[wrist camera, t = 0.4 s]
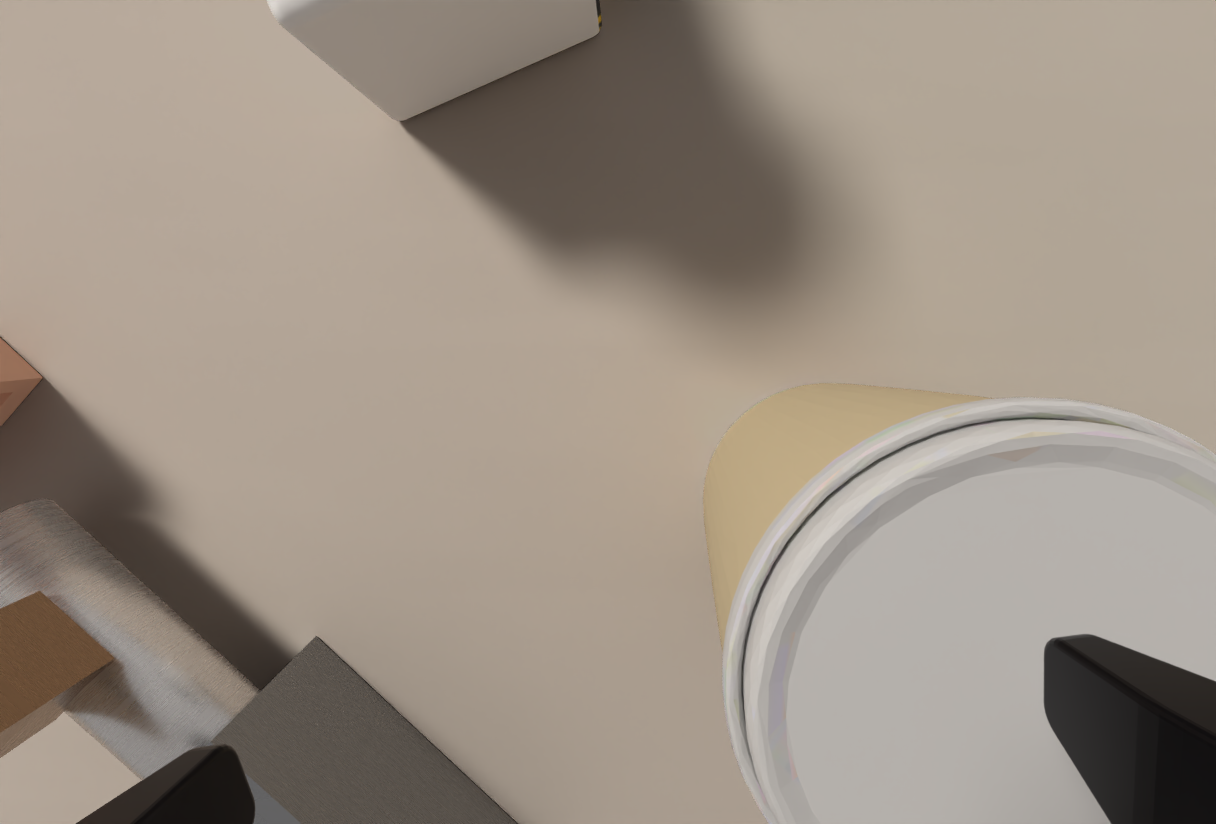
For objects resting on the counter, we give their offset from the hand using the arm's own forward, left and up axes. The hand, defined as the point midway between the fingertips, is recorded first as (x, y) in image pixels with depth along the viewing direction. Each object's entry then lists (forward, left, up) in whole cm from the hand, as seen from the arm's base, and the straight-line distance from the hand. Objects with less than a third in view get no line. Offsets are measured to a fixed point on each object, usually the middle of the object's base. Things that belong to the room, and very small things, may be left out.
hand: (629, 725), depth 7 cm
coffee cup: (-2, -6, -15) cm, 16 cm away
